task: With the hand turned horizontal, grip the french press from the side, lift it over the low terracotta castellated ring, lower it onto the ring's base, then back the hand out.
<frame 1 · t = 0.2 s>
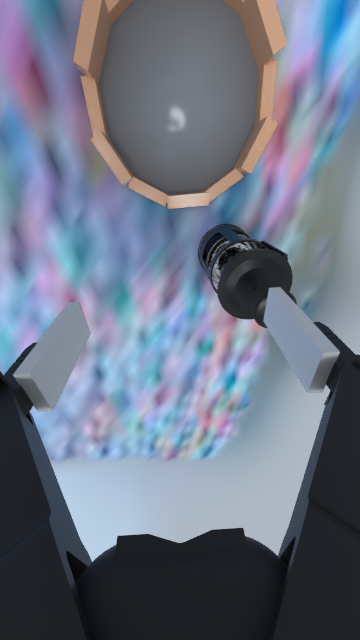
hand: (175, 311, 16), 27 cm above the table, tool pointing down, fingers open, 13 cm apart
castellated ring: (179, 108, 31), on the table
french press: (225, 250, 42), on the table
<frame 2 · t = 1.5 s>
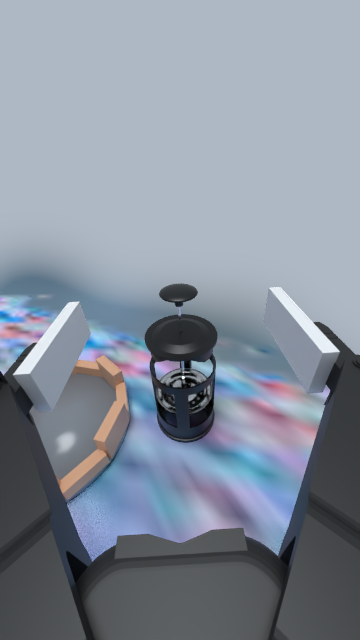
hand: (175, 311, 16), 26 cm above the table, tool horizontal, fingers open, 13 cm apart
castellated ring: (56, 426, 37), on the table
french press: (185, 412, 38), on the table
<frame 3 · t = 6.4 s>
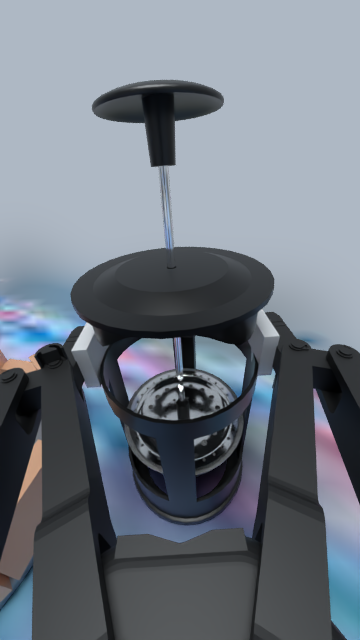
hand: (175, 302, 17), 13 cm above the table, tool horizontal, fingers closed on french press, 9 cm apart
french press: (187, 450, 20), on the table, touching gripper
when the fingers open (15 cm above the table, at t = 11.6 s): french press drops 1 cm, resting on castellated ring.
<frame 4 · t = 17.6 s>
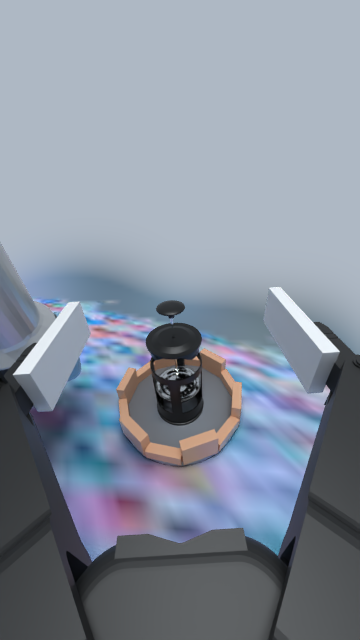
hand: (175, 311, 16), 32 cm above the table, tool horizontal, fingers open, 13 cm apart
castellated ring: (180, 403, 47), on the table
french press: (180, 402, 46), point 1 cm above the table, touching castellated ring
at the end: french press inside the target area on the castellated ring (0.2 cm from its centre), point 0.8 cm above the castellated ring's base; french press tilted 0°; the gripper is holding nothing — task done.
